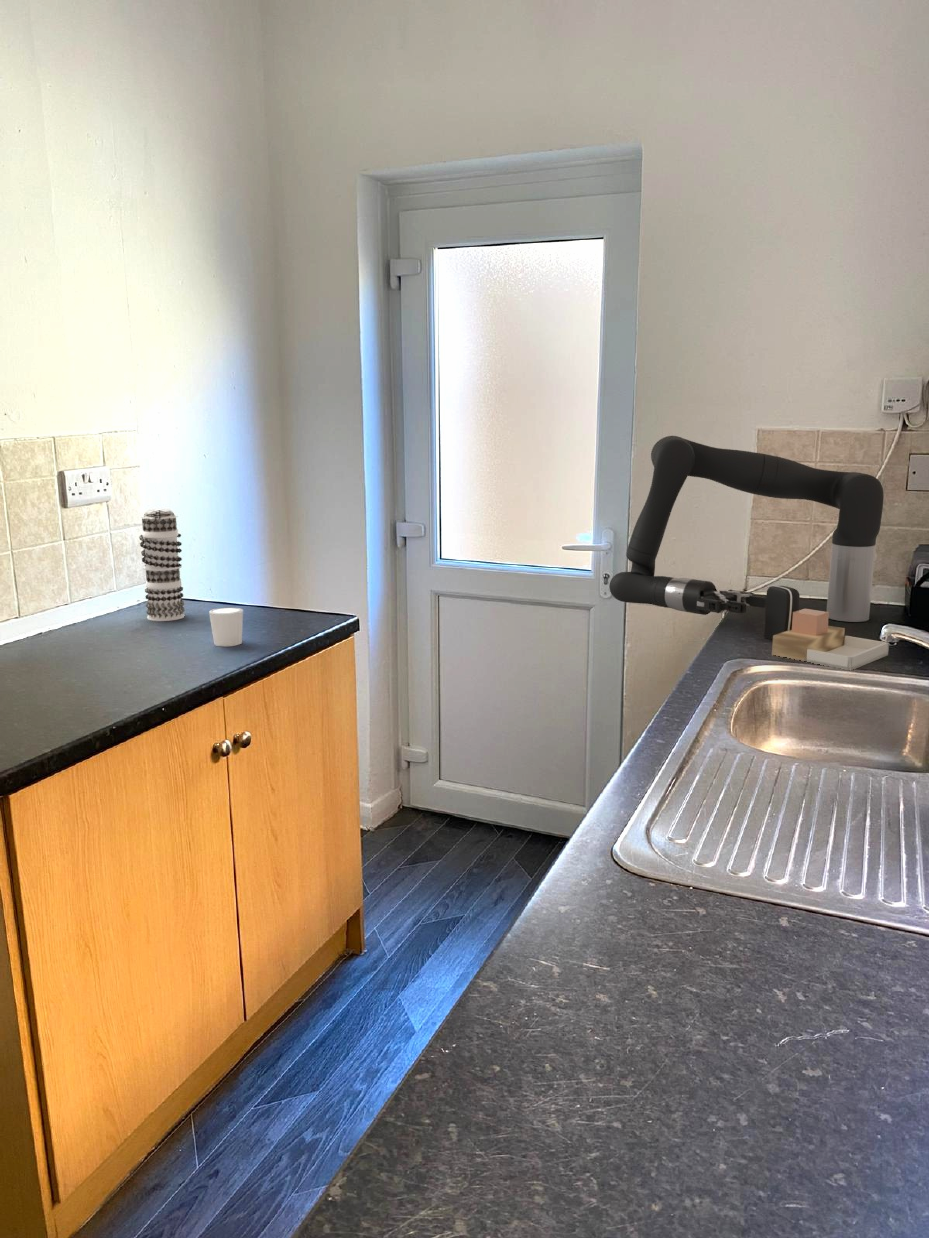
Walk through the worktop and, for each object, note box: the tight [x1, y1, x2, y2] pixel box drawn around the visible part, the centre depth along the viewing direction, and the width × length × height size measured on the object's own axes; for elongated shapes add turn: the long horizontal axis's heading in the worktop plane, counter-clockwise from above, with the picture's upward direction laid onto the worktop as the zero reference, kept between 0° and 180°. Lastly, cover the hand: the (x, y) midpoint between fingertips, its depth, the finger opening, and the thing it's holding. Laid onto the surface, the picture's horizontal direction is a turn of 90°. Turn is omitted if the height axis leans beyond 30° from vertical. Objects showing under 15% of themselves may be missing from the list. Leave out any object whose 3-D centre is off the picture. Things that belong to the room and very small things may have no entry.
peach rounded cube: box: [792, 608, 830, 636], centre depth 190 cm, size 5×5×4 cm
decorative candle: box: [138, 508, 185, 622], centre depth 221 cm, size 9×9×25 cm
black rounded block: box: [763, 585, 801, 641], centre depth 199 cm, size 7×4×11 cm, turn 22°
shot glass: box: [208, 607, 244, 647], centre depth 198 cm, size 7×7×7 cm
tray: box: [806, 635, 890, 672], centre depth 185 cm, size 17×9×2 cm, turn 134°
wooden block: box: [771, 625, 846, 662], centre depth 191 cm, size 16×7×4 cm, turn 134°
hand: (755, 605), depth 203 cm, fingers open, 8 cm apart
